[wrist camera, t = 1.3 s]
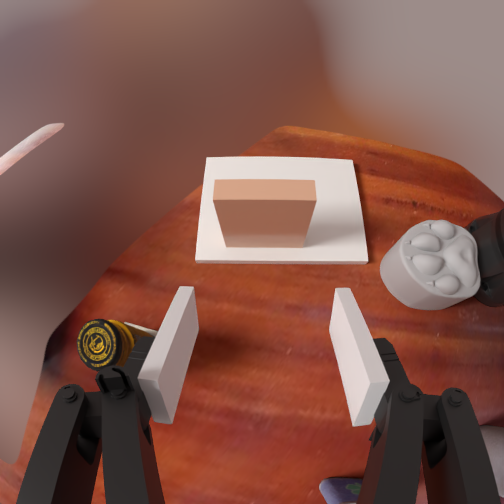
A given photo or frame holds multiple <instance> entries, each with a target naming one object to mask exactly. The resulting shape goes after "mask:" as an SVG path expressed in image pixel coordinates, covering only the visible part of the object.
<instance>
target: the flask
mask: <svg viewBox="0 0 504 504" xmlns="http://www.w3.org/2000/svg"><path fill="white" fill-rule="evenodd" d="M362 481H363V479H359V478H345V477H344V478H342V477H331V478H327V479H324V480H323V481H322V482H321V483H320V485H319V489H320V491H321V493H322V495H323V496H324V498H325V500H326V502H327V504H356V503H357V500H358V496H359V493H360V489H361V485H362Z"/></svg>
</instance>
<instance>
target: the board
mask: <svg viewBox="0 0 504 504" xmlns="http://www.w3.org/2000/svg"><path fill="white" fill-rule="evenodd" d="M217 179H291V180H315V187H316V197H317V202H316V205H315V208H314V212H313V215H312V218H311V222H310V225H309V228H308V232H307V235H306V238H305V241H304V245H303V248H233V247H226V245H225V242H224V238H223V235H222V231H221V228H220V224H219V221H218V217H217V214H216V210H215V206H214V203H213V191H214V182H215V180H217ZM195 260H196V262H197V263H231V264H366V263H367V262H368V254H367V246H366V238H365V231H364V224H363V217H362V210H361V204H360V198H359V192H358V187H357V181H356V176H355V171H354V166H353V161H352V160H343V159H326V158H303V157H214V158H213V157H211V158H207V160H206V168H205V175H204V183H203V191H202V200H201V208H200V217H199V227H198V236H197V246H196V257H195Z"/></svg>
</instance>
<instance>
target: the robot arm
mask: <svg viewBox="0 0 504 504" xmlns="http://www.w3.org/2000/svg"><path fill="white" fill-rule="evenodd" d="M464 229H466V230H467V231H468V232H469V233H470V234H471V235H472V236H473V238H474V239H475V241H476V244H477V252H478V253H477V261H478V268H479V273H480V287H479V289H478V291H477V292H476V293H475V294H474V297H475V298H476V299H478V300H479V301H480V302H481V303H483V304H485V305H487V306H491V307H498V306H501V305H504V208H503V209H502V210H501V211H500V212H497V213H493V214H490V215H486V216H482V217H479V218H477V219H475V220H473V221H472V222H471V223H470V224H468V225H467V226H466V227H465V228H464ZM198 331H199V325H198V317H197V309H196V301H195V292H194V287H186V286H180V287H179V289H178V291H177V293H176V295H175V297H174V299H173V301H172V303H171V305H170V308H169V310H168V312H167V314H166V316H165V318H164V320H163V322H162V325H161V327H160V329H159V331H158V333H157V335H156V337H147V336H143V337H142V338H141V339H140V340H138V341H137V342H136V343H135V345H134V347H133V349H132V352H131V353H130V355H129V358H128V359H127V361H126V363H125V365H124V367H121V366H116V365H112V366H108V367H105V368H103V369H102V370H100V371H99V372H98V374H97V375H96V378H95V380H96V382H97V384H98V386H99V388H100V390H101V391H99V392H84V390H83V388H81V387H80V386H79V385H76V384H69V385H66V386H63V387H62V388H61V389H59V391H58V392H57V394H56V396H55V398H54V400H53V403H52V405H51V407H50V409H49V412H48V414H47V417H46V419H45V421H44V424H43V426H42V429H41V431H40V434H39V436H38V439H37V442H36V444H35V447H34V450H33V452H32V455H31V458H30V461H29V464H28V467H27V470H26V473H25V476H24V479H23V482H22V485H21V488H20V492H19V495H18V499H17V502H16V504H91V501H92V496H93V490H94V485H95V481H96V476H97V471H98V467H99V462H100V458H101V454H102V458H103V475H104V487H105V498H106V504H165V501H164V497H163V492H162V488H161V483H160V478H159V473H158V468H157V463H156V457H155V451H154V445H153V439H152V433H151V427H150V425H149V420H150V417H151V415H152V417H153V420H154V422H159V423H166V424H172V422H173V419H174V415H175V411H176V408H177V404H178V400H179V397H180V393H181V390H182V386H183V382H184V379H185V375H186V372H187V368H188V365H189V361H190V358H191V354H192V351H193V348H194V344H195V341H196V337H197V334H198ZM329 332H330V335H331V339H332V343H333V347H334V350H335V354H336V358H337V362H338V366H339V370H340V374H341V378H342V382H343V386H344V390H345V394H346V398H347V403H348V407H349V411H350V416H351V420H352V424H353V426H361V425H369V424H371V422H372V420H373V418H375V421H376V427H375V429H374V431H373V432H372V434H371V436H370V438H369V440H370V441H371V440H372V442H371V447H370V452H369V456H368V461H367V465H366V469H365V473H364V478H363V481H362V485H361V489H360V493H359V496H358V500H357V503H356V504H415V503H416V496H417V490H418V482H419V474H420V464H421V459H422V465H423V471H424V477H425V484H426V491H427V499H428V504H501V502H500V497H499V493H498V488H497V484H496V480H495V476H494V472H493V469H492V465H491V462H490V458H489V455H488V451H487V448H486V445H485V442H484V439H483V436H482V433H481V430H480V427H479V424H478V421H477V419H476V416H475V413H474V410H473V408H472V405H471V403H470V400H469V398H468V396H467V394H466V393H465V392H464V391H462V390H461V389H458V388H448V389H446V390H445V391H444V392H443V393H442V395H441V396H437V395H427V394H423V392H422V391H421V390H420V388H418V387H417V386H415V385H413V384H410V382H409V380H408V378H407V375H406V373H405V371H404V369H403V367H402V364H401V362H400V361H399V358H398V356H397V354H396V352H395V350H394V348H393V345H392V344H391V343H390V342H389V341H388V340H386V339H385V338H377V339H372V336H371V334H370V332H369V330H368V327H367V325H366V323H365V320H364V318H363V316H362V314H361V311H360V309H359V307H358V305H357V303H356V301H355V298H354V296H353V294H352V292H351V290H350V288H336V289H335V296H334V303H333V309H332V316H331V322H330V328H329Z"/></svg>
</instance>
